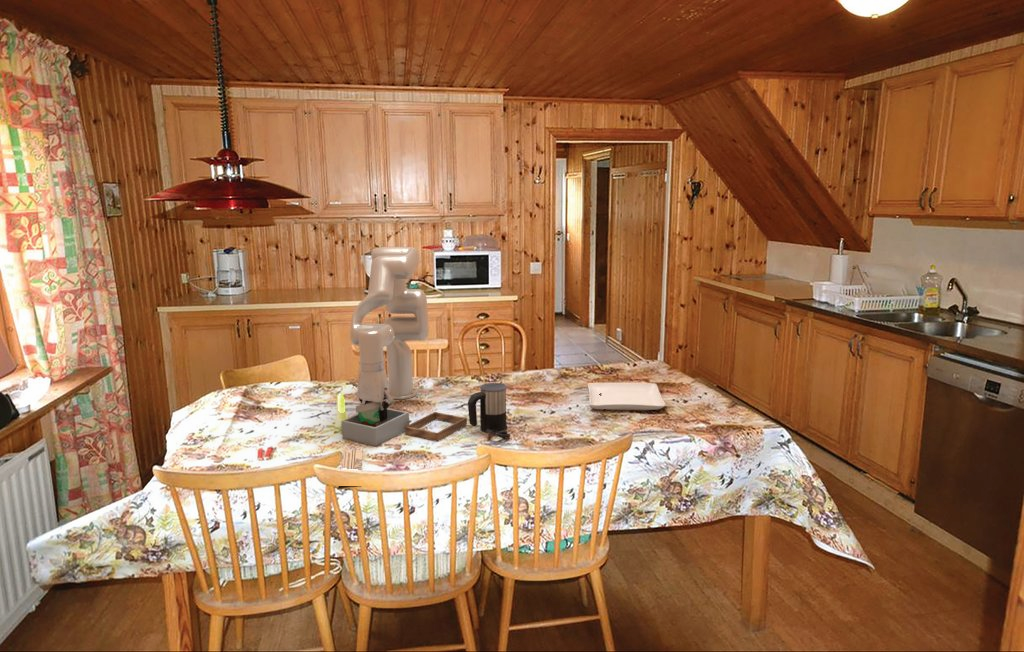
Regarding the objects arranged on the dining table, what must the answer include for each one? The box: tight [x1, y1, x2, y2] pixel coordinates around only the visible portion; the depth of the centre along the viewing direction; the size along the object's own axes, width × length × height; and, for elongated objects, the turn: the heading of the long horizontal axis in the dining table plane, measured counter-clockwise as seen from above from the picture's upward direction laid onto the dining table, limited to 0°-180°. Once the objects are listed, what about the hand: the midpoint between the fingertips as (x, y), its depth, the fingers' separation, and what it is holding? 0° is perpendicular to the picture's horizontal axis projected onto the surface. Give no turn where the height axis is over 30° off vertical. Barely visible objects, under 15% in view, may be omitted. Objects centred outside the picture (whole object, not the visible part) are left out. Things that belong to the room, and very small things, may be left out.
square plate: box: [587, 382, 666, 411], centre depth 238 cm, size 27×27×4 cm
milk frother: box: [467, 382, 511, 440], centre depth 207 cm, size 14×16×15 cm
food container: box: [355, 401, 387, 427], centre depth 208 cm, size 12×6×10 cm, turn 157°
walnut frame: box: [404, 411, 468, 442], centre depth 212 cm, size 14×17×2 cm
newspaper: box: [340, 449, 364, 470], centre depth 183 cm, size 24×7×2 cm, turn 12°
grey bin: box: [340, 407, 410, 447], centre depth 209 cm, size 15×17×6 cm
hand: (375, 418), depth 208 cm, fingers open, 6 cm apart
